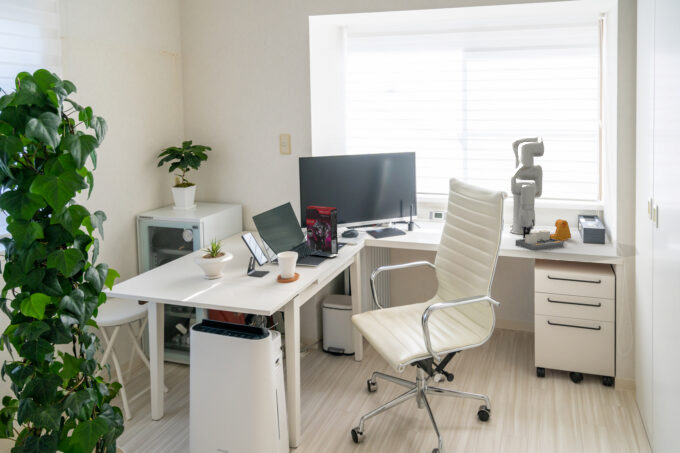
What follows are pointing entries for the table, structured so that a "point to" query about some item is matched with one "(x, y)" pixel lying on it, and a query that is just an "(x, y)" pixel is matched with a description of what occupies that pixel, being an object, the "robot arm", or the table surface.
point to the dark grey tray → (540, 244)
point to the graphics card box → (322, 229)
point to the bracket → (561, 231)
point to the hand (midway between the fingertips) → (526, 238)
